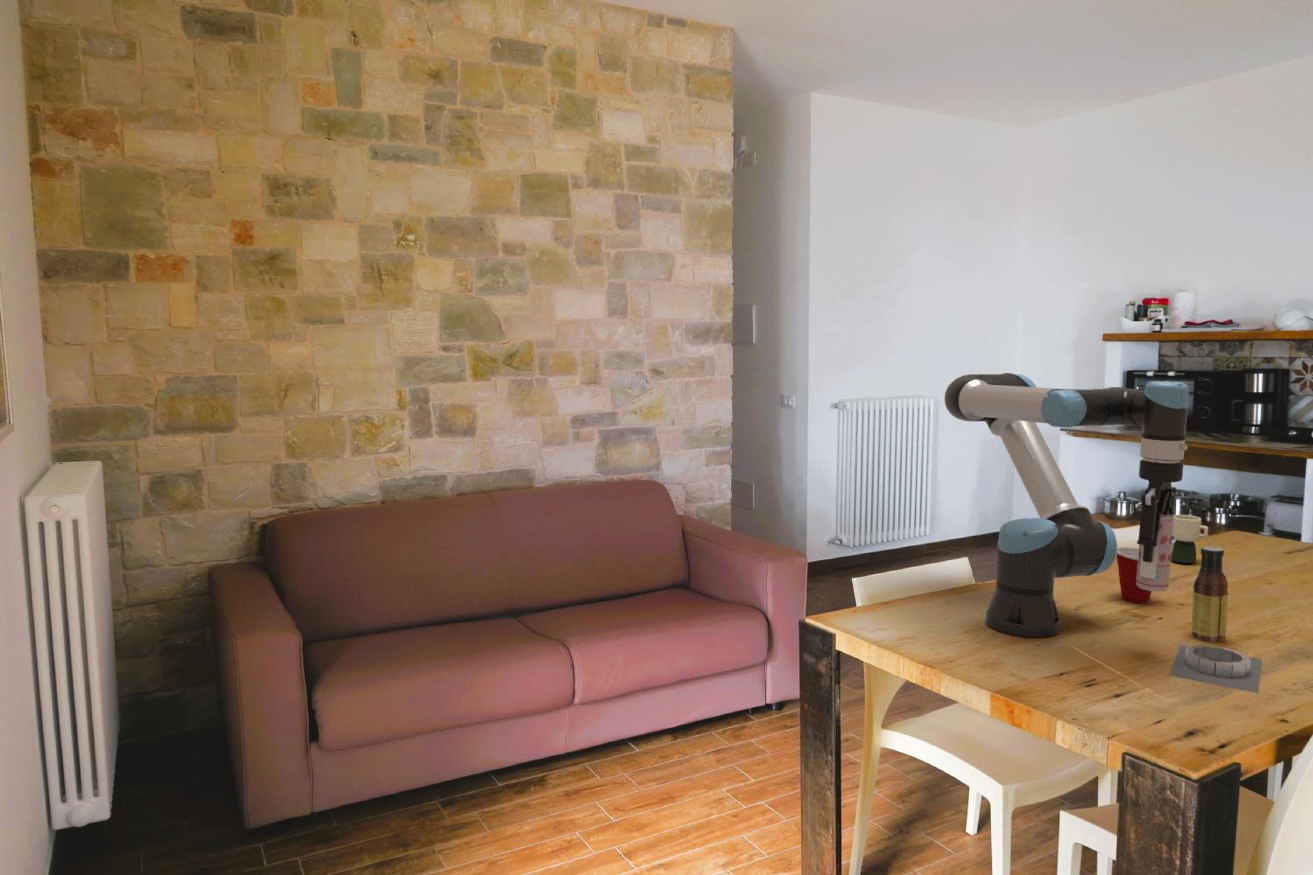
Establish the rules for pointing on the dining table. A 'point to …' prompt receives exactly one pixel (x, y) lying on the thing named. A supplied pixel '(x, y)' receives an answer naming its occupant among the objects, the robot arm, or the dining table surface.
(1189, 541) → the cup on green stand
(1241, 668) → the white segmented ring
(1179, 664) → the holder mat
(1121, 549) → the plastic cup
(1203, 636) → the sauce bottle
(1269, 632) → the dining table surface
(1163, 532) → the beverage can
